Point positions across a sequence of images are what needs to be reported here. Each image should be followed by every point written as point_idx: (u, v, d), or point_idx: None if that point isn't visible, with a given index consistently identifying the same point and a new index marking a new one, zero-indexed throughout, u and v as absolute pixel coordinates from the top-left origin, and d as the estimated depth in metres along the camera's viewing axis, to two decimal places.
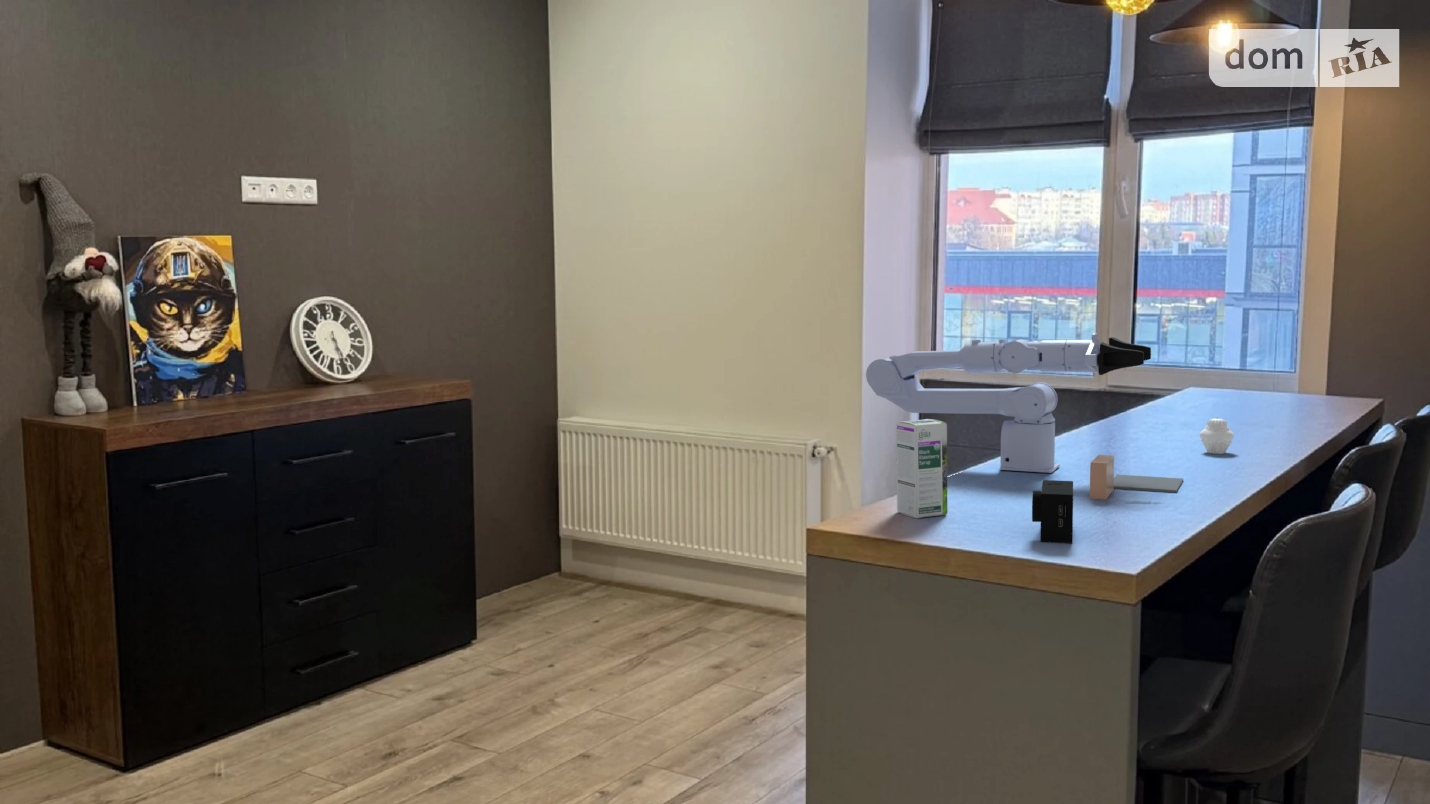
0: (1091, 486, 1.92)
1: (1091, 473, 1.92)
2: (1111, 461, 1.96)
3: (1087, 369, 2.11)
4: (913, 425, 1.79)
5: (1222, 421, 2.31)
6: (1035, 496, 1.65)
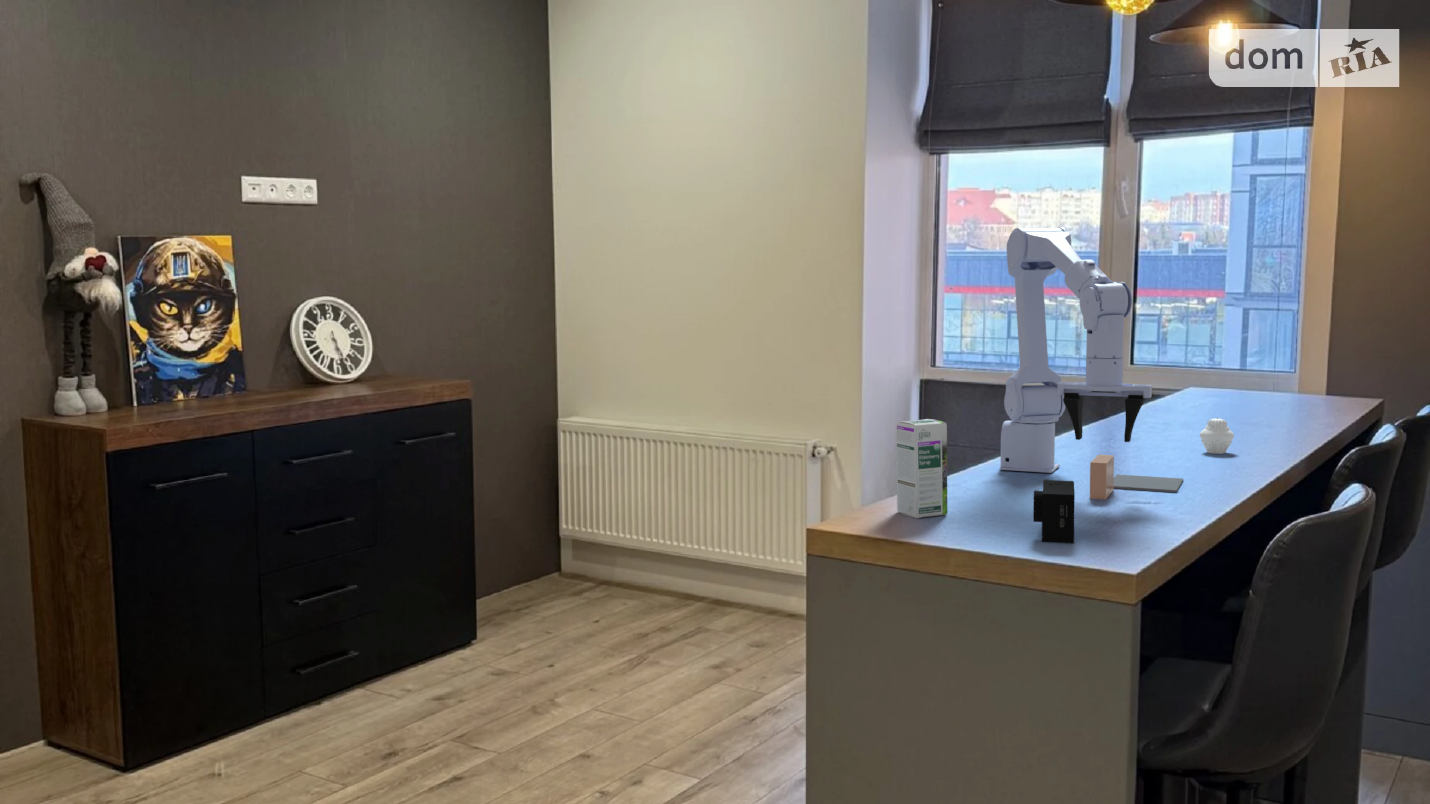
0: (1091, 486, 1.92)
1: (1091, 473, 1.92)
2: (1111, 461, 1.96)
3: None
4: (913, 425, 1.79)
5: (1222, 421, 2.31)
6: (1036, 496, 1.65)
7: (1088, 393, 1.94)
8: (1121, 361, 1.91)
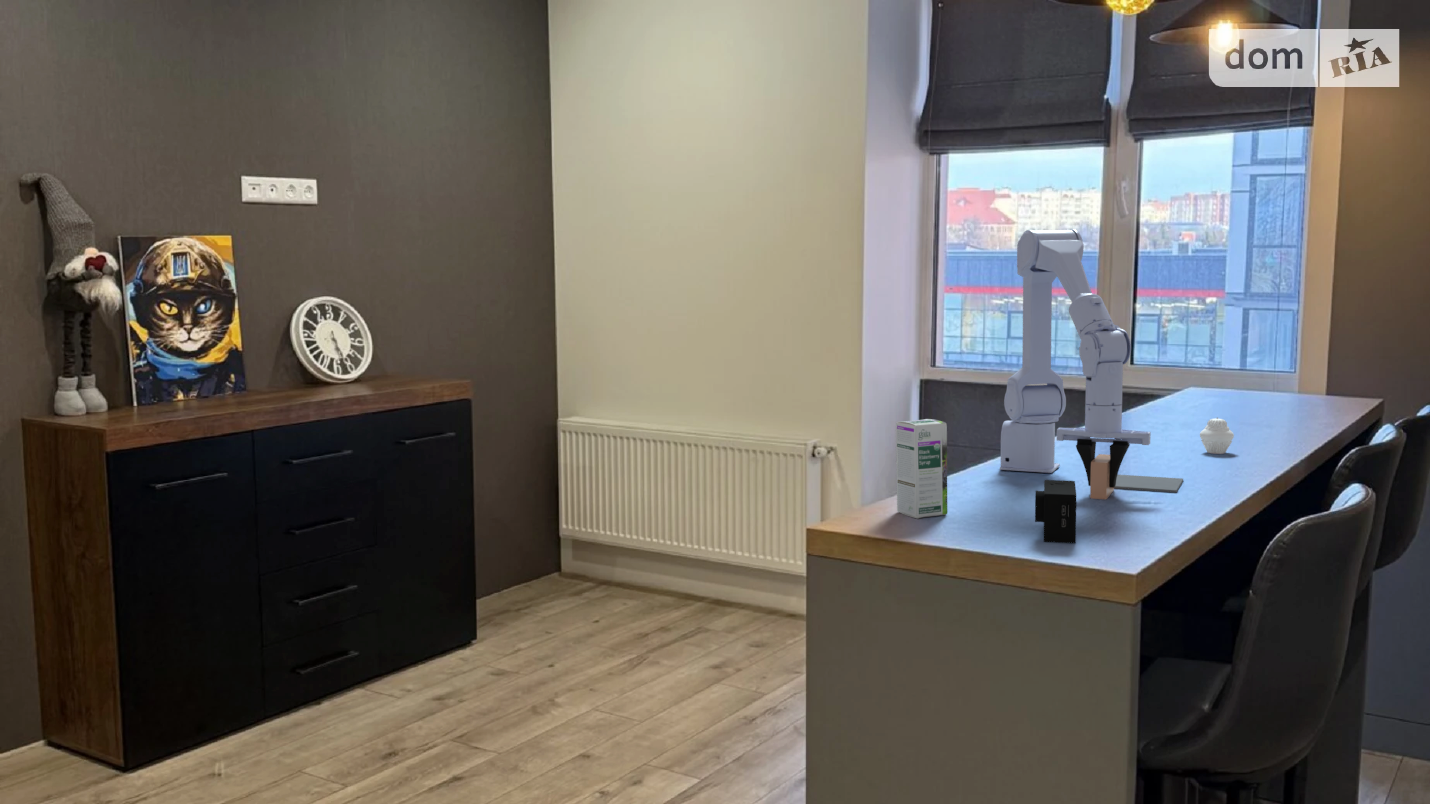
0: (1092, 486, 1.92)
1: (1091, 473, 1.92)
2: None
3: None
4: (913, 425, 1.79)
5: (1222, 421, 2.31)
6: (1038, 496, 1.65)
7: None
8: (1120, 408, 1.92)
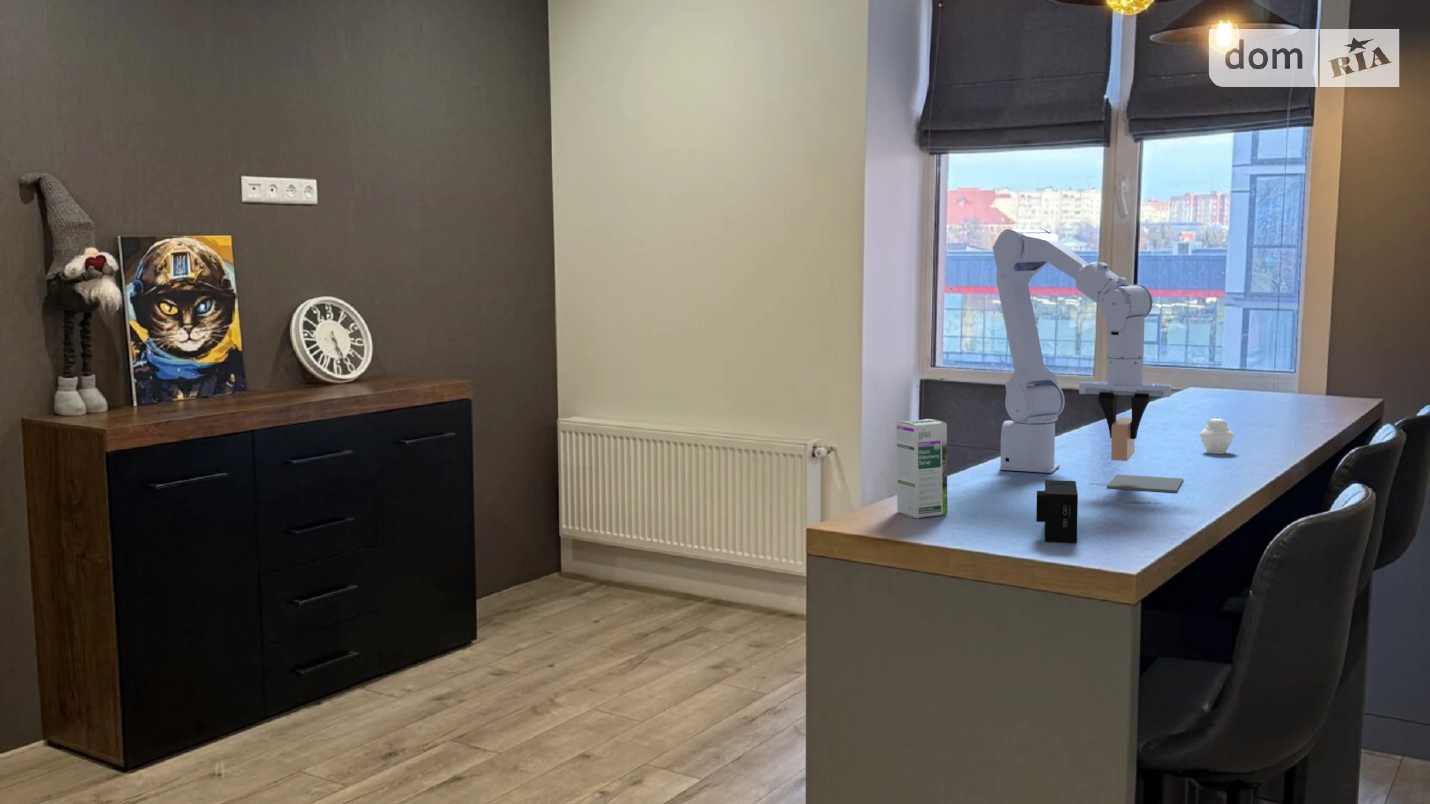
0: (1112, 448, 1.98)
1: (1112, 435, 1.97)
2: None
3: None
4: (913, 425, 1.79)
5: (1222, 421, 2.31)
6: (1039, 496, 1.65)
7: (1109, 392, 2.01)
8: (1141, 361, 1.97)
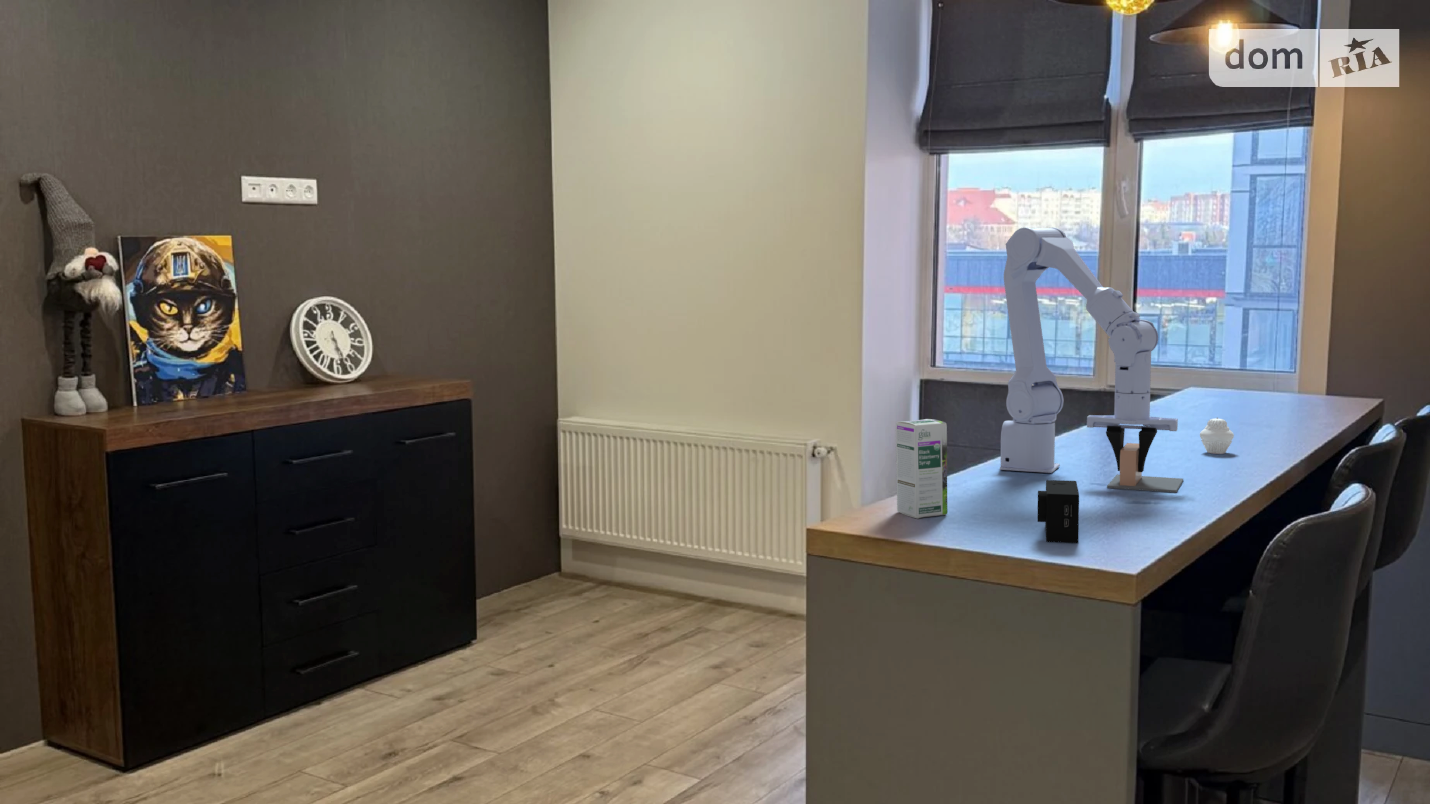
0: (1121, 473, 2.00)
1: (1121, 460, 2.00)
2: None
3: None
4: (913, 425, 1.79)
5: (1222, 421, 2.31)
6: (1041, 496, 1.65)
7: (1116, 426, 2.04)
8: (1148, 396, 2.00)
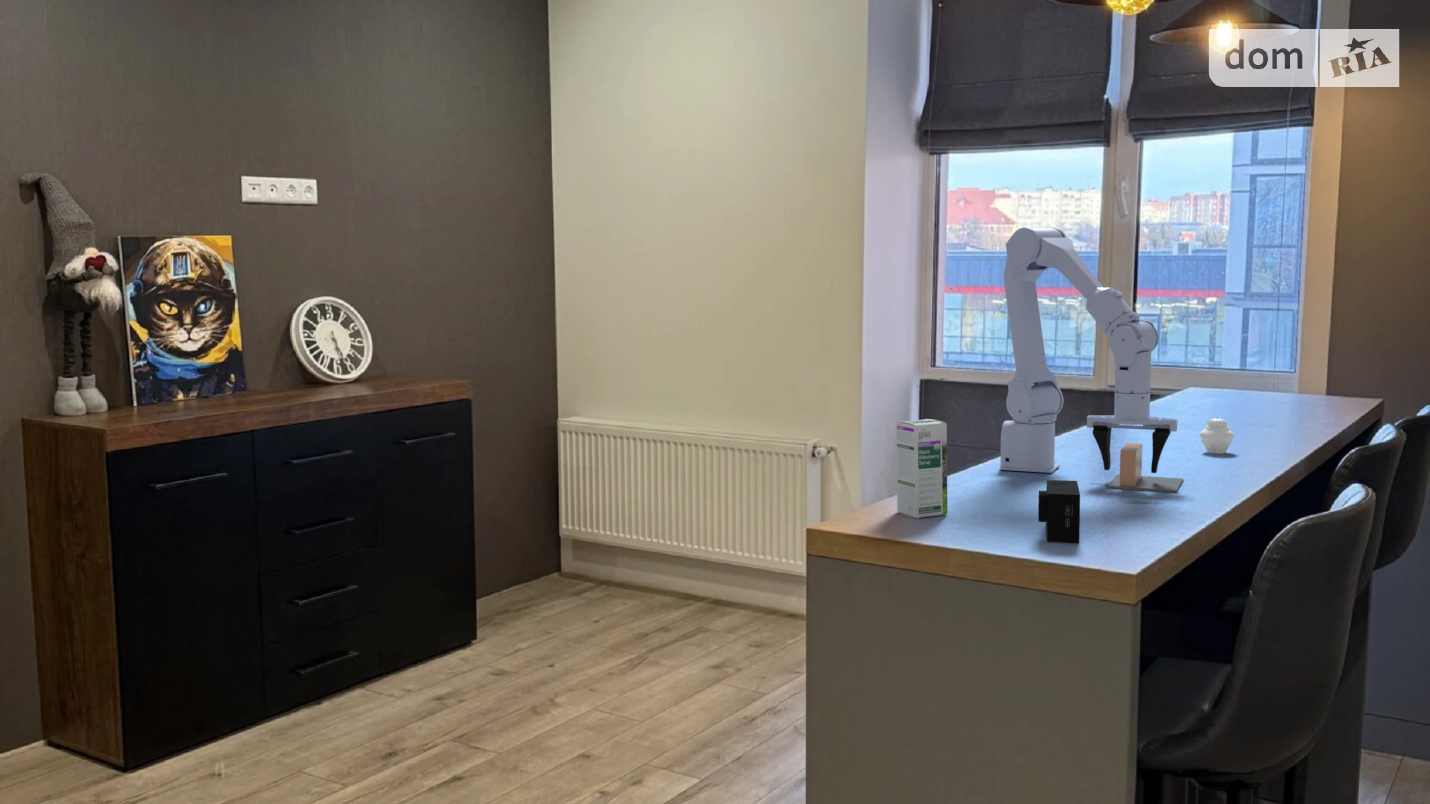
0: (1121, 473, 2.00)
1: (1121, 460, 2.00)
2: (1140, 449, 2.04)
3: None
4: (913, 425, 1.79)
5: (1222, 421, 2.31)
6: (1042, 496, 1.65)
7: (1116, 426, 2.04)
8: (1148, 396, 2.00)
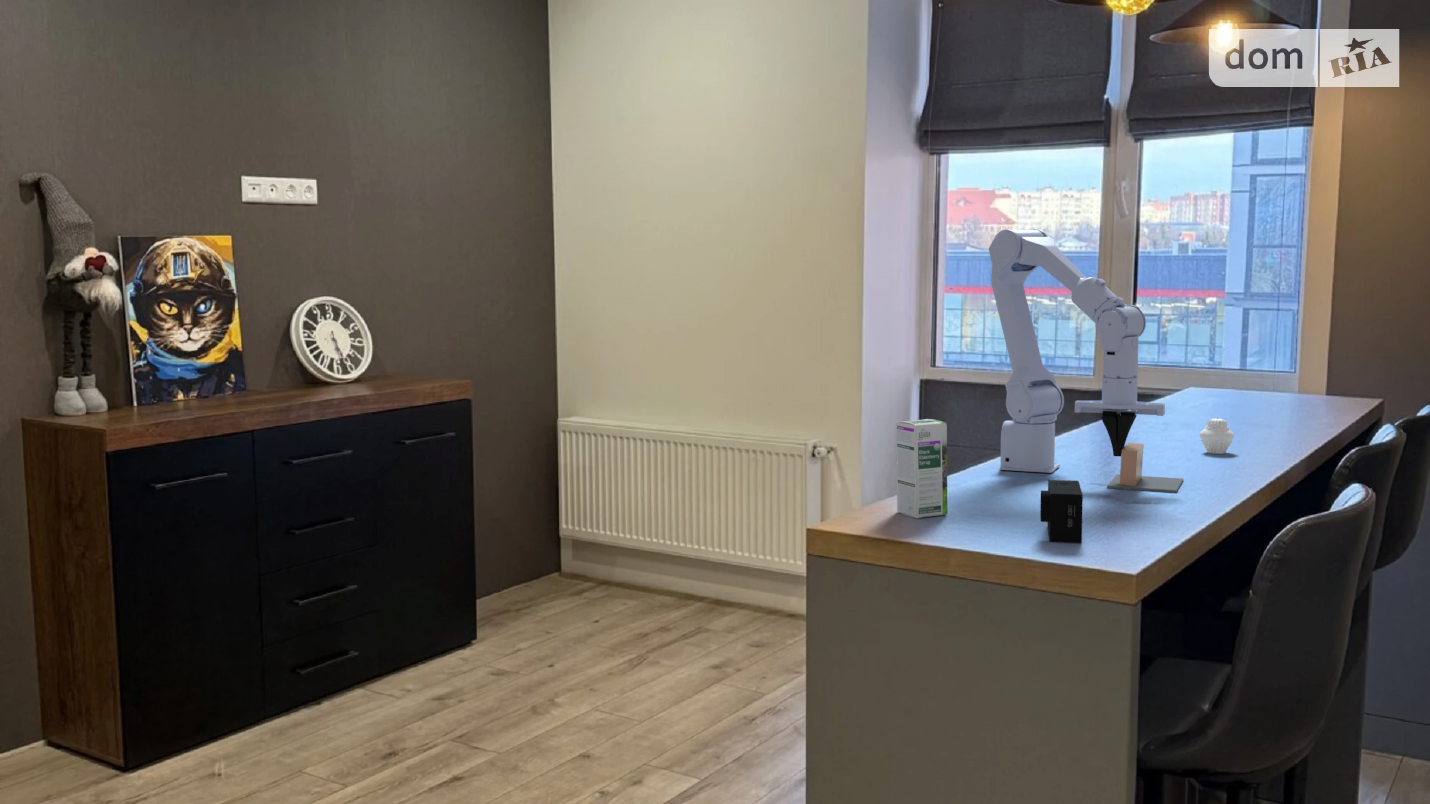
0: (1121, 472, 2.00)
1: (1122, 460, 2.00)
2: (1141, 449, 2.03)
3: None
4: (913, 425, 1.79)
5: (1222, 421, 2.31)
6: (1044, 496, 1.65)
7: (1104, 411, 2.04)
8: (1136, 381, 2.01)
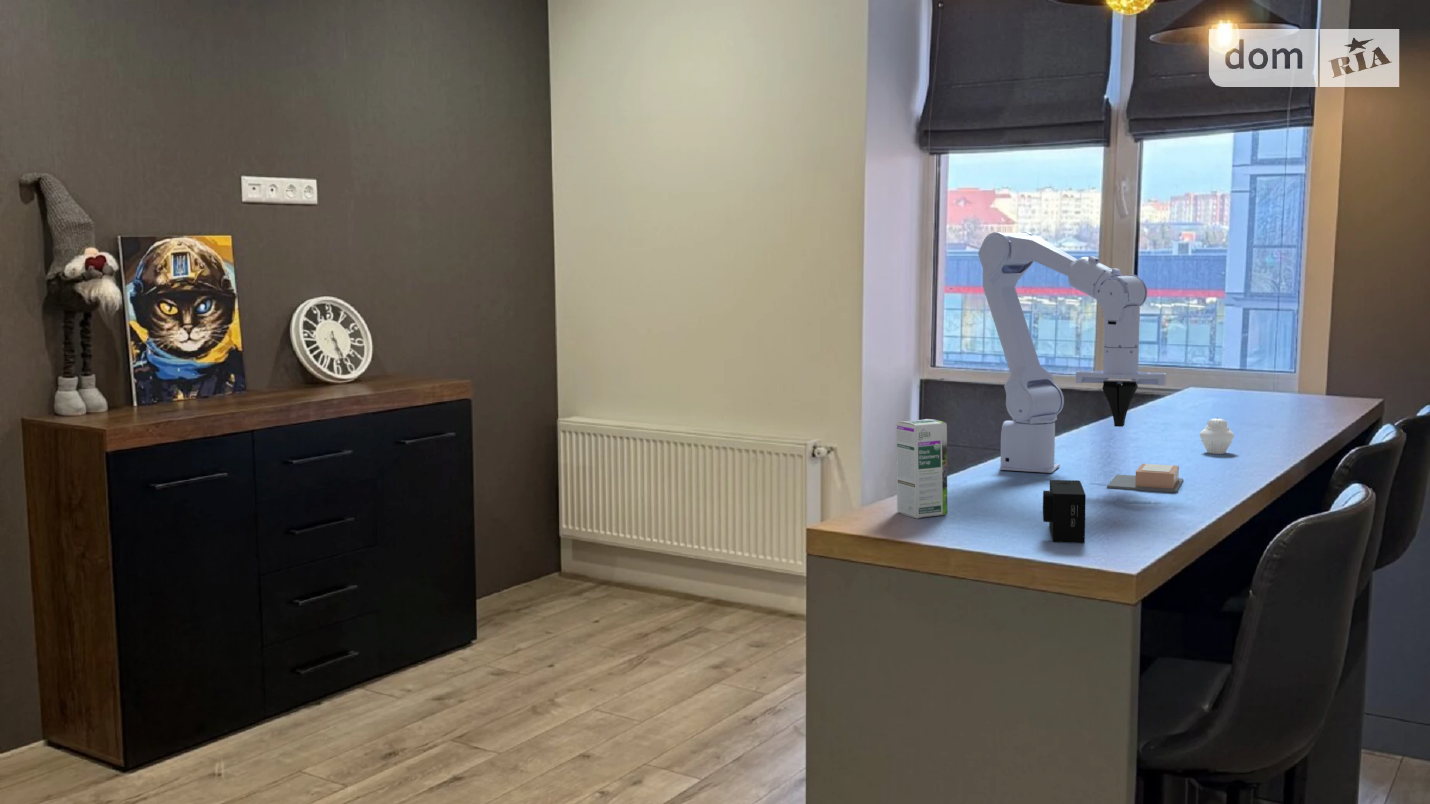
0: (1148, 473, 1.98)
1: (1162, 474, 1.98)
2: None
3: None
4: (913, 425, 1.79)
5: (1222, 421, 2.31)
6: (1047, 496, 1.65)
7: (1105, 381, 2.04)
8: (1137, 350, 2.00)
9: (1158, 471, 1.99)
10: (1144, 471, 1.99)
